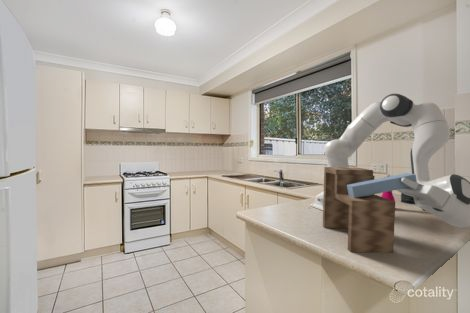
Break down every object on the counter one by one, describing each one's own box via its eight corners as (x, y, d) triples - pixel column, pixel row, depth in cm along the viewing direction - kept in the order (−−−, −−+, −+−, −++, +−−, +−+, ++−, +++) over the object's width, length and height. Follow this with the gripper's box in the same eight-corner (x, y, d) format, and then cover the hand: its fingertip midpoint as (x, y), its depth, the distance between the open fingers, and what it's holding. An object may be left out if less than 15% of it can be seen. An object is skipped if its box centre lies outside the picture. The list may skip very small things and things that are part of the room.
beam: (408, 183, 84) (407, 173, 84) (417, 185, 80) (415, 174, 80) (348, 195, 84) (346, 184, 84) (354, 198, 80) (352, 186, 80)
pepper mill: (389, 210, 129) (391, 175, 128) (377, 207, 136) (378, 173, 135) (397, 209, 133) (398, 174, 132) (384, 206, 139) (385, 173, 138)
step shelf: (354, 226, 101) (356, 167, 100) (393, 252, 76) (396, 174, 75) (322, 226, 101) (324, 167, 100) (350, 251, 76) (353, 173, 75)
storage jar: (405, 203, 146) (406, 180, 146) (397, 200, 156) (398, 178, 155) (423, 204, 144) (424, 181, 144) (413, 201, 154) (415, 178, 154)
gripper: (412, 185, 92) (382, 168, 92) (462, 196, 72) (424, 173, 72) (403, 199, 92) (374, 181, 92) (451, 213, 72) (413, 191, 72)
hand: (396, 178), depth 82 cm, fingers closed on beam, 4 cm apart
